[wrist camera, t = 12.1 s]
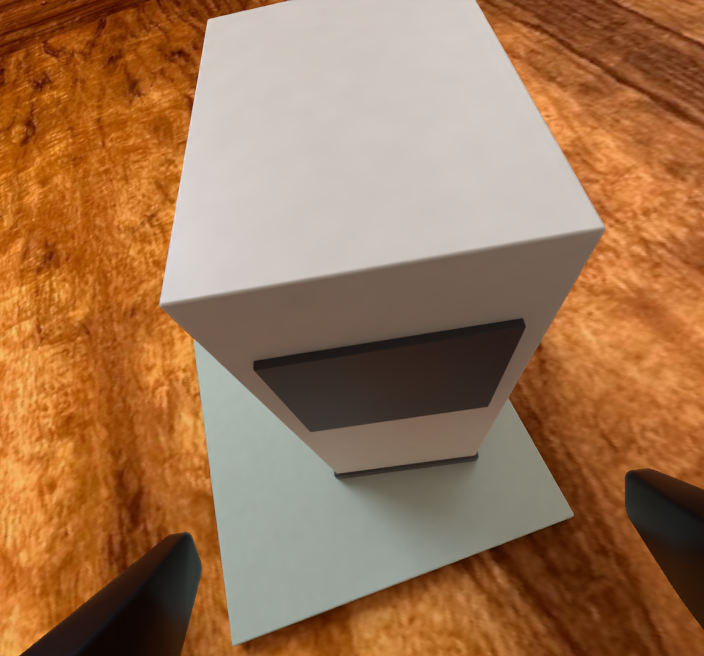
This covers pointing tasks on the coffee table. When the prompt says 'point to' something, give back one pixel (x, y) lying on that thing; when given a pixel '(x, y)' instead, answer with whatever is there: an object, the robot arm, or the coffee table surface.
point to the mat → (350, 510)
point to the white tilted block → (372, 225)
